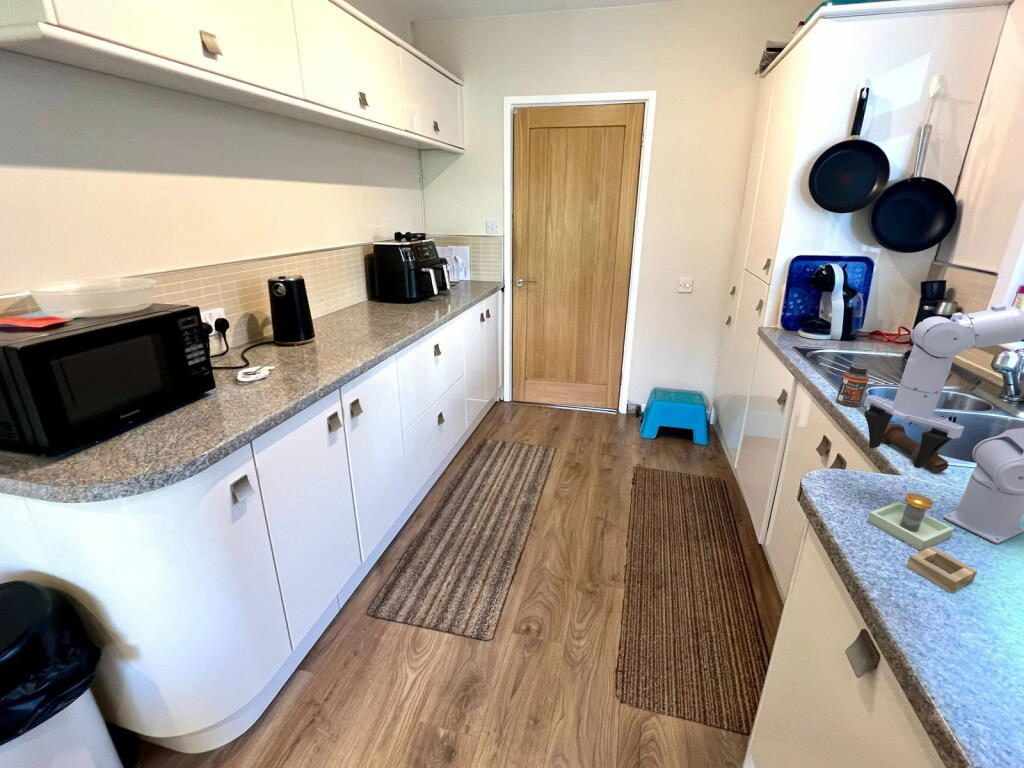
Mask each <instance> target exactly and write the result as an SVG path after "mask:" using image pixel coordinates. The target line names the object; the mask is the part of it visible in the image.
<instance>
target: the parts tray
mask: <svg viewBox="0 0 1024 768" xmlns="http://www.w3.org/2000/svg"><path fill="white" fill-rule="evenodd" d="M906 505H907V503H906V504H905V503H903V502H901V501H897V502H893V503H891V504H887V505H885V506H883V507H880V508H878V509H874V510H871V511H870V512H869V513H868V517H867V520H866V522H867V523H869V524H871V525H873V526H875V527H876V528H878V529H880V530H881V531H884V533H887V534H889V535H890V536H892V537H894V538H896V539H898V541H899V540H900V541H901V542H903V541H904V542H903V543H905V542H906V543H905V544H907V543H908V544H910V545H911V546H910V545H909V546H910V547H912V546H913V547H912V548H914V547H915V548H914V549H916V550H917V549H918V551H919V550H920V551H923V550H924V549H927V548H929V547H932V546H933V545H934V546H936V545H938V544H941V543H942V542H944V541H947V540H949V539H951V537H952V535H953V532H954V529H955V528H954V527H951V526H950V525H948V524H945V523H944V522H942V521H939V520H938V519H936V518H934V517H932V516H930V515H928V514H926V513H925V514H924V517H923V519H922V522H921V525H920V527H919V530H918V531H917V532H911V531H908V530H906V529H904V528H902V527H901V526H900V522H901V519H902V516H903V514H904V511H905V508H906ZM908 544H907V545H908ZM934 546H933V547H934ZM920 551H919V552H920Z"/></svg>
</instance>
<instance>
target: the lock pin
mask: <svg viewBox="0 0 1024 768" xmlns="http://www.w3.org/2000/svg"><path fill="white" fill-rule="evenodd" d="M904 501H905V503H906V508H905V511H904V514H903V516H902V519H901V522H900V526H901V527H902V528H904V529H906V530H908V531H911V532H917V531H918V530H919V527H920V525H921V522H922V519H923V517H924V514H926V511H927V510H931V509H932V507H933V504H934V503H933V502H934V501H932V500H931V499H930V498H928V497H926V496H924V495H922V494H918V493H915V492H909V493H907V494H906V495H905V498H904Z"/></svg>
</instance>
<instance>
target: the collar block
mask: <svg viewBox="0 0 1024 768" xmlns="http://www.w3.org/2000/svg"><path fill="white" fill-rule="evenodd" d="M905 567H906V568H907V569H910V570H912V571H913V572H914V573H916V574H918V575H920V576H921V577H923V578H925V579H926V580H928V581H930V582H931V583H933V584H935V585H937V587H940V588H941V589H943V590H945V591H947V592H948V593H950V594H952V593H953V592H956V591H958V590H959V589H962V588H963V587H965V586H967V585H968V584H971V583H973V582H974V580H975V578H976V576H977V573H978V570H977V569H975V568H973V567H971V566H969V565H968V564H966V563H964V562H963V561H960V560H958V559H957V558H955V557H953V556H951V555H949V554H947V553H946V552H944V551H942V550H939V549H938V548H936V547H934V546H931V547H929V548H927V549H925V550H922V551H919V552H916V553H914V554H912V555H910V556H909V558H908V560H907V563H906V565H905Z"/></svg>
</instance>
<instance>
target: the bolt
mask: <svg viewBox="0 0 1024 768" xmlns="http://www.w3.org/2000/svg"><path fill="white" fill-rule="evenodd" d="M881 444H883V445H890V446H892V445H893V446H896V447H897V448H899V450H901V451H903V452H905V453H906V454H908V456H911V460H912V461H913V464H914V463H915V460H916V458H917V455H918V453H919V450H920V446H921V443H919V442H918V441H916V440H915V439H914V438H912V437H910V436H909V435H906V429H905V426H903V425H902V424H900V423H889V424H888V426H887V428H886V430H885V433H884V436H883V439H882V442H881ZM925 467H927V468H928V469H929V470H931V471H933V472H935V473H942V472H944V471H946V470H947V469H948V468H949V461H948V460H946V459H944V458H942V456H940V455H939V451H937V452H936V453H935V454H934V455H933V456H932V457H931V458H930V459H929V461H928V462H927V463H926V465H925Z"/></svg>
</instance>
